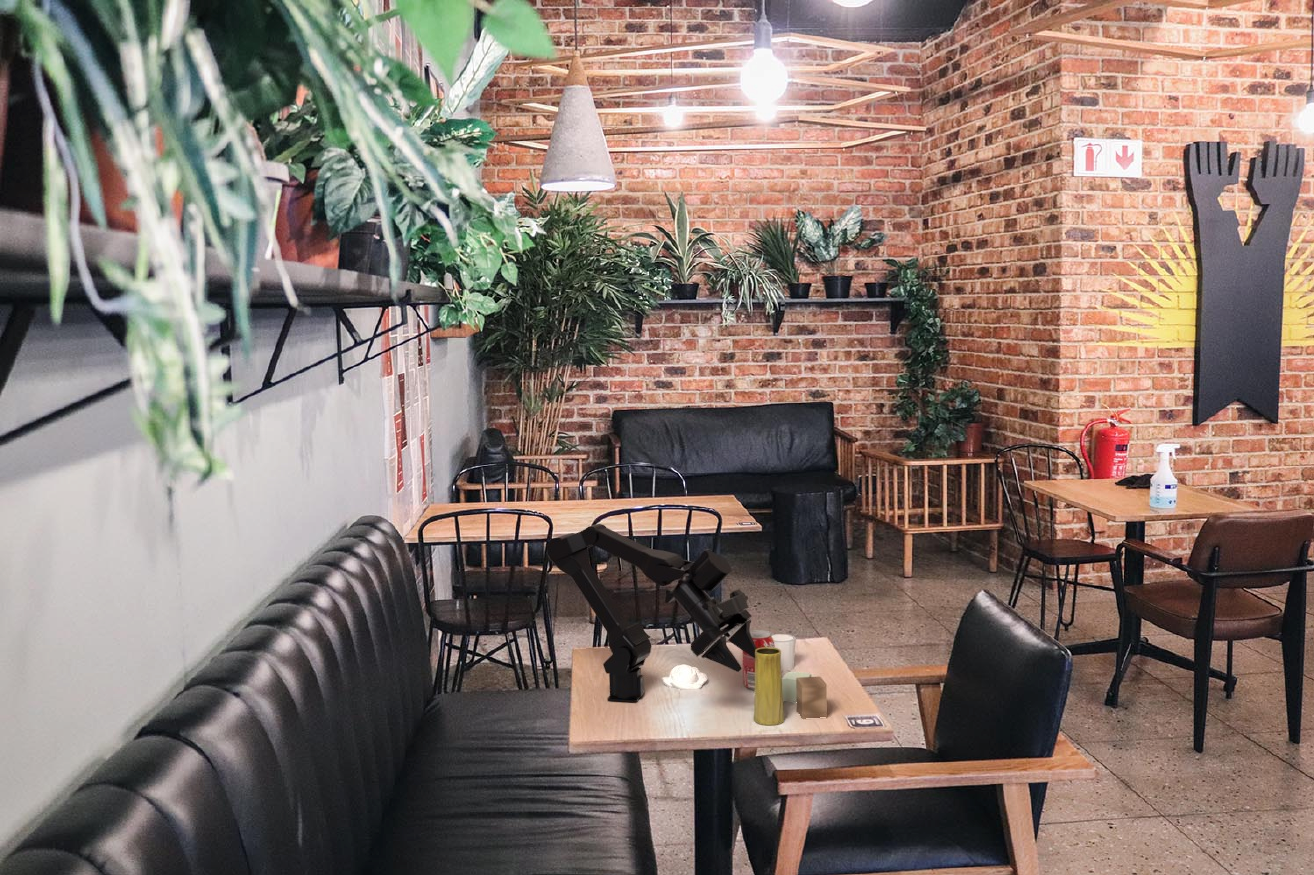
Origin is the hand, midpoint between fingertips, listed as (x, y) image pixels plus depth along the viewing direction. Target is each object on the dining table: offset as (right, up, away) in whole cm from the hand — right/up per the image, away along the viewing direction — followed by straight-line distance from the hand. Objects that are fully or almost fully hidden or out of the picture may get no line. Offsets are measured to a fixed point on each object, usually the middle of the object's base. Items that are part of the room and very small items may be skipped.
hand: (749, 663), depth 215 cm
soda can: (+4, -9, +20) cm, 22 cm away
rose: (-12, -10, +23) cm, 28 cm away
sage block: (+11, -10, +12) cm, 19 cm away
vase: (+4, -11, -1) cm, 12 cm away
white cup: (+10, -8, +33) cm, 36 cm away
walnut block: (+13, -11, +2) cm, 17 cm away
